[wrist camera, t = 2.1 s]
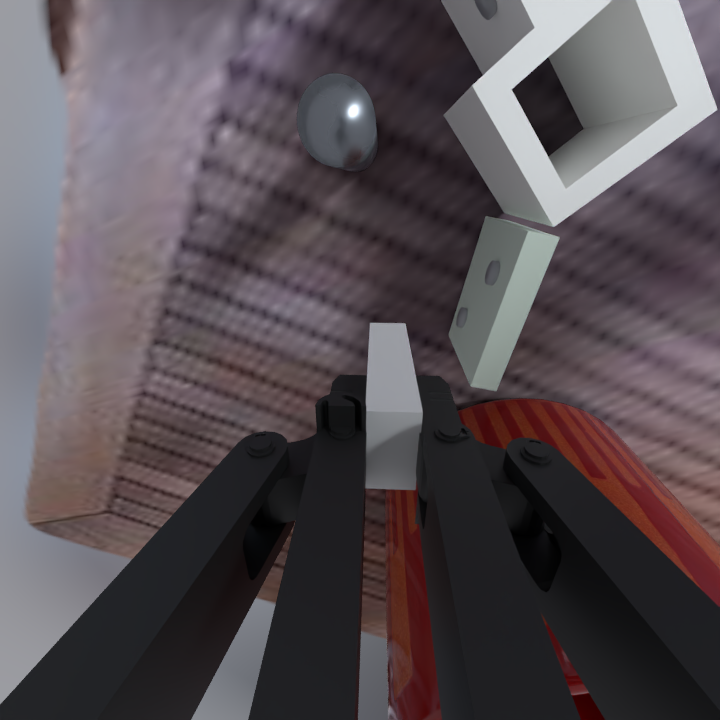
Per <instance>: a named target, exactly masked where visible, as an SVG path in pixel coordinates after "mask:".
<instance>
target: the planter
mask: <svg viewBox="0 0 720 720" xmlns="http://www.w3.org/2000/svg"><path fill="white" fill-rule="evenodd" d="M458 414H459V417H460V420H461V423H462V424H463V425H465V426H466V427H468V428H469V429H470V430H471V431H472V433H473V434H474V436H475V439H476V440H477V441H479V442H481V443H484V444H487V445H490V446H494V447H499V448H503V449H506V448H507V445H508V444H509V442H510V441H511V440H514V439H517V438H533V439H537V440H541V441H543V442H545V443H548V444H550V445H551V446H553V447H554V448H555V449H557V450H558V451H559V452H560V453H561V454H562V455H564V456H565V457H566V458H567V459H568V460H569V461H570V462H571V463H572V464H573V465H574V466H575V467H576V468H577V469H578V470H579V471H580V472H581V473H582V474H583V475H584V476H585V477H586V478H587V479H588V480H589V481H590V482H591V483H592V484H593V485H594V486H595V487H596V488H597V489H598V490H600V491H601V492H602V493H603V494H604V495H605V496H606V497H607V498H608V499H609V500H610V501H611V502H612V503H613V504H614V505H615V506H616V507H617V508H618V509H619V510H620V511H621V512H622V513H623V514H624V515H625V516H626V517H627V518H628V519H629V520H630V521H631V522H632V523H633V524H635V525H636V526H637V527H638V528H639V529H640V530H641V531H642V532H643V533H644V534H645V535H646V536H647V537H648V538H649V539H650V540H651V541H652V542H653V543H654V544H655V545H656V546H657V547H658V548H659V549H660V550H661V551H662V552H663V553H664V554H665V555H666V556H667V557H668V558H669V559H671V560H672V561H673V562H674V563H675V564H676V565H677V566H678V567H679V568H680V569H681V570H682V571H683V572H684V573H685V574H686V575H687V576H688V577H689V578H690V579H691V580H692V581H693V582H694V583H695V584H696V585H697V586H698V587H699V588H700V589H701V590H702V591H703V592H704V593H705V594H707V595H708V596H709V597H710V598H711V599H712V600H713V601H714V602H715V603H716V604H717V605H718V606H719V607H720V545H719V544H718V543H717V542H716V541H715V540H714V539H713V538H712V537H711V536H710V535H709V533H708V532H707V531H706V530H705V529H704V528H703V527H702V526H701V525H700V524H699V523H698V521H697V520H696V519H695V518H694V517H693V516H692V515H691V514H690V513H689V512H688V511H687V509H686V508H685V507H684V506H683V505H682V504H681V503H680V502H679V501H678V500H677V499H676V497H675V496H674V495H673V494H672V493H671V492H670V491H669V490H668V489H667V488H666V487H665V486H664V484H663V483H662V482H661V481H660V480H659V479H658V478H657V477H656V476H655V475H654V474H653V473H652V471H651V470H650V469H649V468H648V467H647V466H646V465H645V464H644V463H643V462H642V461H641V460H640V458H639V457H638V456H637V455H636V454H635V453H634V452H633V451H632V450H631V449H630V448H629V447H628V445H627V444H626V443H625V442H624V441H623V440H622V439H621V438H620V437H619V436H618V435H617V434H616V433H615V432H614V431H613V430H612V429H611V428H610V427H608V426H607V425H606V424H605V423H604V422H602V421H601V420H600V419H598V418H596V417H594V416H593V415H591V414H589V413H587V412H585V411H584V410H581V409H578V408H575V407H573V406H570V405H567V404H564V403H559V402H554V401H548V400H543V399H527V398H516V399H503V400H495V401H490V402H485V403H481V404H476V405H473V406H470V407H467V408H464V409H461V410H458ZM417 497H418V486H417V480H416V490H397V489H386V495H385V542H386V621H387V679H388V720H442V716H441V708H440V699H439V691H438V682H437V673H436V665H435V656H434V648H433V639H432V631H431V622H430V614H429V605H428V597H427V588H426V580H425V571H424V563H423V554H422V546H421V537H420V529H419V524H415V517H416V507H417ZM541 615H542V614H541ZM542 617H543V616H542ZM543 620H544V623H545V625H546V628H547V631H548V633H549V636H550V639H551V641H552V644H553V647H554V649H555V652H556V655H557V657H558V660H559V663H560V665H561V668H562V671H563V673H564V676H565V679H566V681H567V684H568V687H569V689H570V692H571V695H572V697H573V700H574V703H575V705H576V708H577V711H578V713H579V716H580V719H581V720H605V719H604V717H603V715H602V714H601V712H600V710H599V709H598V707H597V705H596V704H595V702H594V700H593V699H592V697H591V695H590V694H589V692H588V690H587V689H586V687H585V685H584V684H583V682H582V680H581V679H580V677H579V675H578V674H577V672H576V670H575V669H574V667H573V665H572V664H571V662H570V660H569V659H568V657H567V655H566V654H565V652H564V650H563V649H562V647H561V645H560V644H559V642H558V640H557V639H556V637H555V636H554V634H553V632H552V631H551V629H550V627H549V626H548V624H547V622H546V621H545V619H544V617H543Z"/></svg>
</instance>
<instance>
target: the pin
mask: <svg viewBox="0 0 720 720" xmlns="http://www.w3.org/2000/svg"><path fill="white" fill-rule="evenodd" d="M297 126H298V132H299V136H300V138H301V141H302V143H303V145H304V147H305V148H306V150H307V151H308V152H309V154H310V155H311V156H312V157H313V158H315V159H316V160H317V161H319V162H320V163H322V164H325V165H328V166H331V167H335V168H340V169H344V170H348V171H353V172H357V171H362V170H364V169H366V168H367V167H369V166H370V165H371V164H372V162H373V161H374V159H375V157H376V155H377V151H378V138H377V129H376V119H375V111H374V107H373V103H372V101H371V98H370V96H369V94H368V93H367V91H366V90H365V88H364V87H363V86H362V85H361V84H360V83H359V82H358V81H356V80H355V79H354V78H352V77H350V76H347V75H345V74H340V73H331V74H326V75H323V76H321V77H319V78H317V79H316V80H314V81H313V82H312V83H311V84H310V85H309V86H308V87H307V89H306V90H305V92H304V93H303V95H302V97H301V100H300V103H299V106H298V111H297Z"/></svg>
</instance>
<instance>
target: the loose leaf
mask: <svg viewBox="0 0 720 720" xmlns="http://www.w3.org/2000/svg"><path fill="white" fill-rule="evenodd" d="M559 238H560V237H557V236H554V235H551V234H548V233H545V232H542V231H539V230H536V229H533V228H530V227H527V226H524V225H521V224H518V223H515V222H512V221H509V220H504V219H499V218H494V217H489V216H486V217H485V220H484V223H483V227H482V230H481V233H480V236H479V239H478V243H477V246H476V249H475V252H474V255H473V258H472V262H471V265H470V268H469V271H468V274H467V277H466V281H465V284H464V287H463V290H462V293H461V296H460V300H459V303H458V306H457V309H456V312H455V316H454V319H453V322H452V325H451V328H450V331H449V338H450V340H451V342H452V345H453V347H454V349H455V352H456V354H457V356H458V359H459V361H460V363H461V366H462V368H463V370H464V373H465V375H466V377H467V380H468V382H469V384H470V387H476V388H481V389H487V390H492V391H497V388H498V386H499V383H500V381H501V379H502V376H503V374H504V371H505V369H506V367H507V364H508V362H509V359H510V357H511V354H512V352H513V350H514V347H515V345H516V342H517V340H518V337H519V335H520V333H521V330H522V328H523V325H524V323H525V321H526V318H527V316H528V313H529V311H530V308H531V306H532V304H533V301H534V299H535V296H536V294H537V291H538V289H539V287H540V284H541V282H542V279H543V277H544V275H545V272H546V270H547V267H548V265H549V262H550V260H551V258H552V255H553V253H554V250H555V248H556V245H557V243H558V241H559Z"/></svg>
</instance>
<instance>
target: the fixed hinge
mask: <svg viewBox="0 0 720 720" xmlns="http://www.w3.org/2000/svg"><path fill="white" fill-rule="evenodd" d="M441 2H442V4H443V5H444V7H445V9H446V11H447V12H448V14H449V16H450V18H451V20H452V21H453V23H454V25H455V27H456V28H457V30H458V32H459V34H460V36H461V37H462V39H463V41H464V43H465V44H466V46H467V48H468V50H469V52H470V53H471V55H472V57H473V59H474V60H475V62H476V64H477V66H478V68H479V69H480V71H481V73H482V75H483V76H482V77H481V78H480V79H479V80H477V81H476V82H475V83H474V84H473V85H472V86H471V87H470V88H469V89H468V90H467V91H466V92H465V93H464V94H463V95H462V96H461V97H460V98H459V99H458V100H457V101H456V103H455V104H454V105H453V106H452V107H451V108H450V109H449V110H448V111H447V112H446V113H445V114H444V117H445V118H446V120H447V122H448V123H449V125H450V127H451V128H452V130H453V131H454V133H455V135H456V136H457V138H458V139H459V141H460V143H461V144H462V146H463V147H464V149H465V151H466V152H467V154H468V155H469V157H470V159H471V160H472V162H473V164H474V165H475V167H476V168H477V170H478V172H479V173H480V175H481V176H482V178H483V180H484V181H485V183H486V184H487V186H488V188H489V189H490V191H491V193H492V194H493V196H494V197H495V199H496V201H497V202H498V204H499V205H500V207H501V209H502V210H503V212H504V213H506V214H509V215H513V216H516V217H520V218H523V219H527V220H530V221H534V222H538V223H541V224H545V225H548V226H552V227H554V226H556V225H557V224H559V223H560V222H561V221H563V220H564V219H566V218H567V217H568V216H570V215H571V214H573V213H574V212H575V211H577V210H578V209H580V208H581V207H582V206H584V205H585V204H587V203H588V202H589V201H591V200H592V199H594V198H595V197H596V196H598V195H599V194H601V193H602V192H603V191H605V190H606V189H607V188H609V187H610V186H612V185H613V184H614V183H616V182H617V181H619V180H620V179H621V178H623V177H624V176H626V175H627V174H628V173H630V172H631V171H633V170H634V169H635V168H637V167H638V166H640V165H641V164H642V163H644V162H645V161H647V160H648V159H649V158H651V157H652V156H654V155H655V154H656V153H658V152H659V151H660V150H662V149H663V148H665V147H666V146H667V145H669V144H670V143H672V142H673V141H674V140H676V139H677V138H679V137H680V136H681V135H683V134H684V133H686V132H687V131H688V130H690V129H691V128H693V127H694V126H695V125H697V124H698V123H700V122H701V121H702V120H704V119H705V118H707V117H708V116H709V115H711V114H712V113H713V112H715V111H716V110H717V107H716V104H715V101H714V98H713V96H712V93H711V90H710V87H709V85H708V82H707V79H706V76H705V73H704V71H703V68H702V65H701V62H700V59H699V57H698V54H697V51H696V48H695V45H694V43H693V40H692V37H691V34H690V31H689V29H688V26H687V23H686V20H685V18H684V15H683V12H682V9H681V6H680V4H679V1H678V0H441ZM547 58H549V60H550V62H551V64H552V66H553V68H554V70H555V72H556V74H557V76H558V78H559V80H560V82H561V84H562V86H563V88H564V90H565V92H566V94H567V96H568V98H569V100H570V102H571V104H572V106H573V109H574V111H575V113H576V115H577V117H578V119H579V121H580V123H581V125H582V127H583V130H581V131H580V132H579V133H578V134H576V135H575V136H574V137H573V138H571V139H570V140H569V141H568V142H566V143H565V144H564V145H562V146H561V147H560V148H559V149H557V150H556V151H555V152H554V153H552V154H551V155H550V156H548V155H547V154H546V152H545V150H544V148H543V146H542V144H541V143H540V141H539V139H538V137H537V135H536V133H535V132H534V130H533V128H532V126H531V124H530V122H529V120H528V119H527V117H526V115H525V113H524V111H523V109H522V108H521V106H520V104H519V102H518V100H517V98H516V97H515V95H514V93H513V91H512V89H513V88H514V87H515V86H516V85H517V84H518V83H519V82H521V81H522V80H523V79H524V78H525V77H526V76H527V75H529V74H530V73H531V72H532V71H533V70H534V69H535V68H536V67H538V66H539V65H540V64H541V63H542V62H543V61H544V60H545V59H547Z"/></svg>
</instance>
